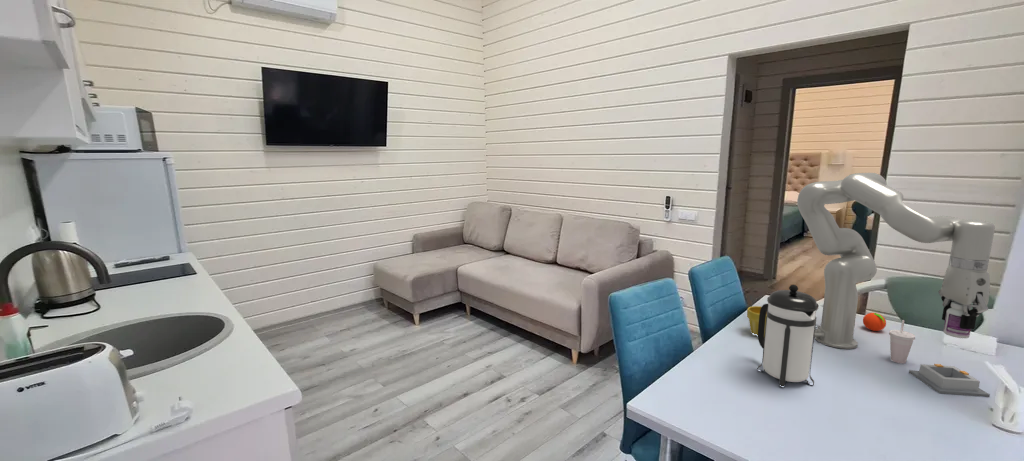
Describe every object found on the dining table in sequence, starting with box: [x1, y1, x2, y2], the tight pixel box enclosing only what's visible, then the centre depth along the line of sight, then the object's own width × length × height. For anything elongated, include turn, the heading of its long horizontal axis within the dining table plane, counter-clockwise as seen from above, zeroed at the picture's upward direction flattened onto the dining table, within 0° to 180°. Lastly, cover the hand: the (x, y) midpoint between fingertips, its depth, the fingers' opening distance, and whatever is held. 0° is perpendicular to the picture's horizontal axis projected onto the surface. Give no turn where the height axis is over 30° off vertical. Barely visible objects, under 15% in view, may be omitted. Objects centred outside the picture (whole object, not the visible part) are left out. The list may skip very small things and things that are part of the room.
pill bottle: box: [943, 302, 972, 339], centre depth 122 cm, size 5×5×10 cm
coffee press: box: [756, 284, 820, 386], centre depth 129 cm, size 17×16×30 cm
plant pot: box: [746, 305, 767, 336], centre depth 160 cm, size 10×10×10 cm
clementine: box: [862, 312, 887, 332], centre depth 162 cm, size 8×7×7 cm
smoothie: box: [888, 319, 916, 365], centre depth 138 cm, size 6×6×14 cm
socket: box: [908, 363, 991, 398], centre depth 125 cm, size 12×12×4 cm
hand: (957, 323), depth 122 cm, fingers closed on pill bottle, 5 cm apart
